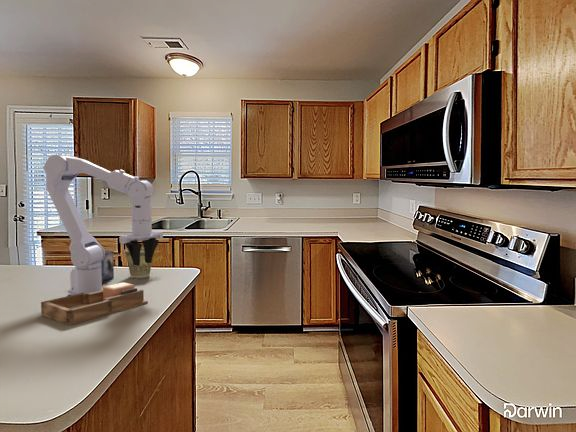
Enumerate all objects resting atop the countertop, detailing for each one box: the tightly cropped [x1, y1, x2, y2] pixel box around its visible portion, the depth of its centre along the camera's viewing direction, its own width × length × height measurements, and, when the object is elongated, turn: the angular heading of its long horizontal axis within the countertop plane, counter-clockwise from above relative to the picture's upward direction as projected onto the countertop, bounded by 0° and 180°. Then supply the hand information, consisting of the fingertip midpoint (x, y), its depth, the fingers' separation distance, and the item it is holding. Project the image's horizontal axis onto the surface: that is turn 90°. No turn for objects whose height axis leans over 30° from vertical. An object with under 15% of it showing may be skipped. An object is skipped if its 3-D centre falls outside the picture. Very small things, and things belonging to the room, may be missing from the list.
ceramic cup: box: [125, 247, 162, 279], centre depth 165 cm, size 13×10×10 cm
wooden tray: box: [40, 287, 149, 326], centre depth 125 cm, size 13×24×4 cm, turn 146°
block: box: [102, 281, 135, 300], centre depth 130 cm, size 5×7×5 cm
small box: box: [101, 249, 115, 284], centre depth 156 cm, size 11×6×10 cm, turn 168°
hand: (142, 263), depth 137 cm, fingers open, 4 cm apart
